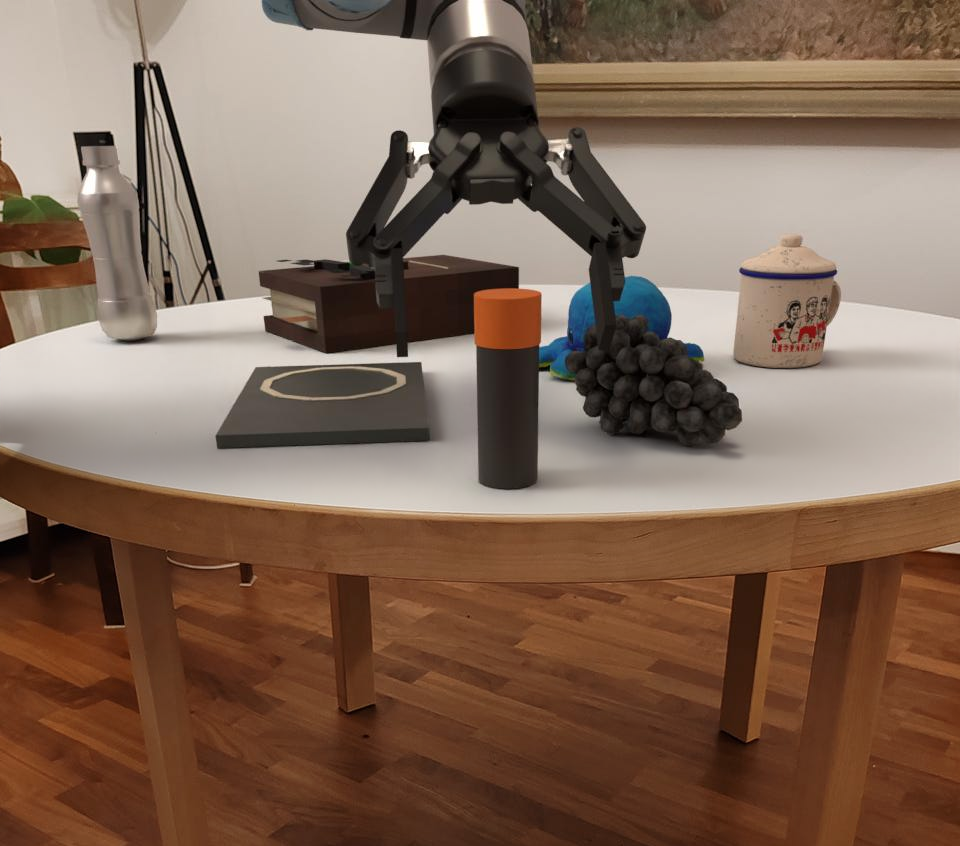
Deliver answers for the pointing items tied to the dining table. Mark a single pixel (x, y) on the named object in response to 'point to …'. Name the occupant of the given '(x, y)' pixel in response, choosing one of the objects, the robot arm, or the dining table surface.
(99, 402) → the dining table surface
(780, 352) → the teacup with lid
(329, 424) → the slate board
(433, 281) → the decorative book
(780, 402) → the dining table surface
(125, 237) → the metal water bottle
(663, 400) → the fruit
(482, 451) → the marker
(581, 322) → the plush toy
